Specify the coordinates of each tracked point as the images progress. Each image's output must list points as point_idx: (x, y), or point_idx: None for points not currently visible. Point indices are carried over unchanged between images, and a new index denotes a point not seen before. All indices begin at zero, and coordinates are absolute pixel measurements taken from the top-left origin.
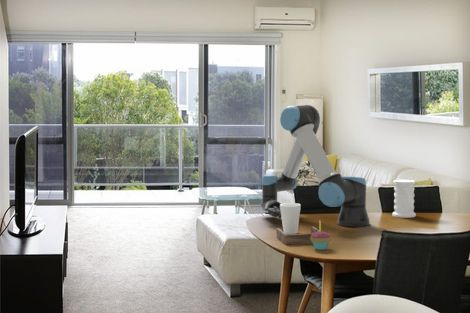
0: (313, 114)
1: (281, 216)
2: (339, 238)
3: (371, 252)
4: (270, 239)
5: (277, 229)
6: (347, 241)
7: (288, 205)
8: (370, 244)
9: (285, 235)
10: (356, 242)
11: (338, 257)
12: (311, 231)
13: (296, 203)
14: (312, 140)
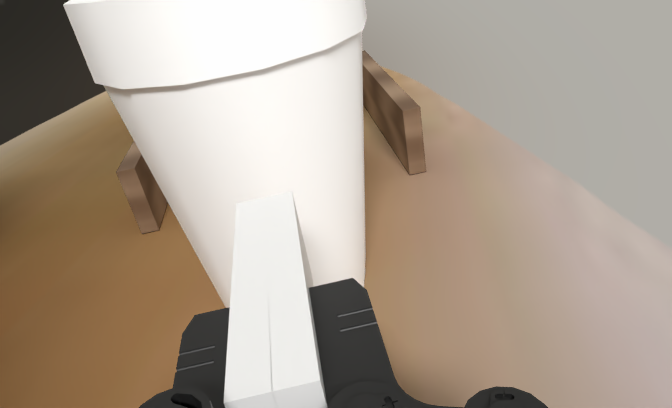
0: None
1: (362, 100)
2: (41, 197)
3: (98, 96)
4: (462, 136)
5: (411, 101)
6: (55, 164)
7: (209, 21)
8: (7, 148)
9: (364, 52)
10: (31, 159)
11: None
12: (148, 200)
13: (79, 3)
14: None
